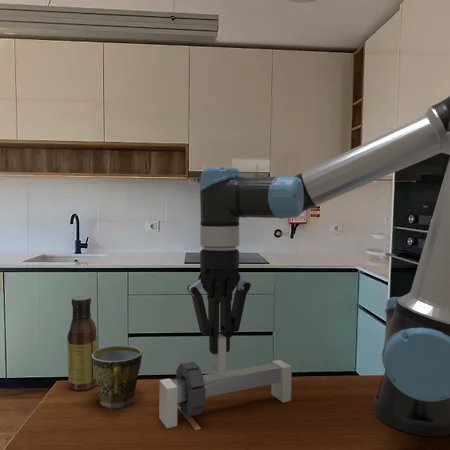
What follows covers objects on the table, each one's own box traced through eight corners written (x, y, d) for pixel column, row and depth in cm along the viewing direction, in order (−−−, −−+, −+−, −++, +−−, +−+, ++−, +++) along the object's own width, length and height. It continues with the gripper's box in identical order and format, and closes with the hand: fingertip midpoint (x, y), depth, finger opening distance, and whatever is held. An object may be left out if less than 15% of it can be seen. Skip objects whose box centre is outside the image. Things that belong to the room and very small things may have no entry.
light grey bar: (277, 376, 92) (277, 361, 91) (285, 382, 89) (285, 366, 89) (165, 397, 80) (165, 380, 80) (171, 404, 78) (171, 387, 78)
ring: (187, 401, 86) (187, 356, 85) (205, 421, 78) (205, 372, 77) (175, 403, 85) (175, 358, 84) (192, 424, 76) (193, 374, 76)
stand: (272, 387, 95) (272, 355, 95) (299, 406, 86) (299, 371, 86) (154, 411, 83) (155, 374, 83) (171, 435, 74) (172, 395, 74)
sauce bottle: (86, 378, 99) (86, 293, 98) (104, 384, 95) (104, 296, 95) (61, 387, 94) (61, 297, 93) (78, 394, 90) (79, 301, 89)
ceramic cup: (92, 393, 91) (93, 346, 91) (140, 388, 94) (140, 343, 93) (89, 422, 78) (89, 369, 78) (144, 417, 81) (145, 364, 81)
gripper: (239, 245, 89) (239, 358, 89) (181, 247, 83) (181, 368, 83) (258, 248, 82) (258, 369, 83) (196, 251, 76) (196, 382, 77)
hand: (219, 369), depth 83 cm, fingers closed
